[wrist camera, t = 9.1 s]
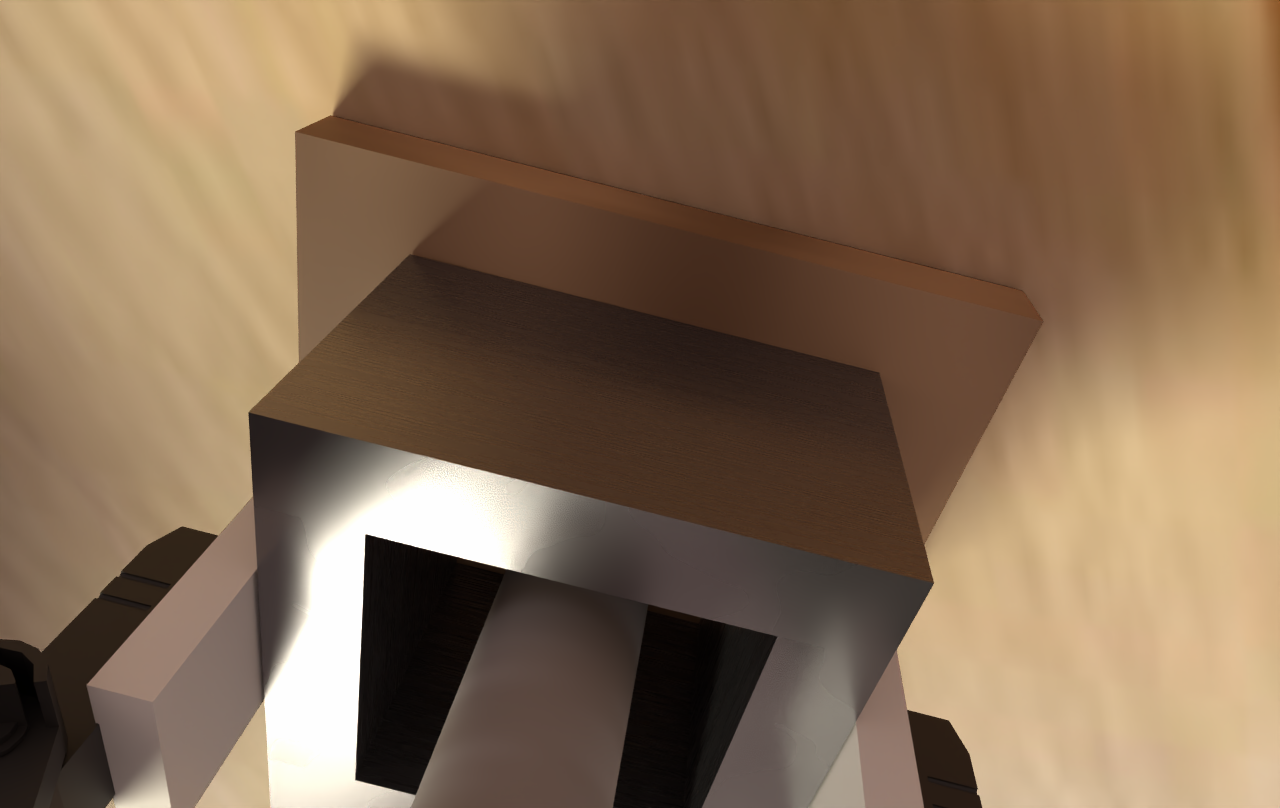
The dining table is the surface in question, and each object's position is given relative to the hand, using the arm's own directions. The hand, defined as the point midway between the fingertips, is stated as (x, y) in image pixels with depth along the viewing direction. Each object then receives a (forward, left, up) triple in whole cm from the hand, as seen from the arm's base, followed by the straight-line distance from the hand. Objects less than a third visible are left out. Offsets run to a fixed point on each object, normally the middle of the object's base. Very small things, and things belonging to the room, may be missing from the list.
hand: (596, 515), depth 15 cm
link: (0, 0, -1) cm, 1 cm away
